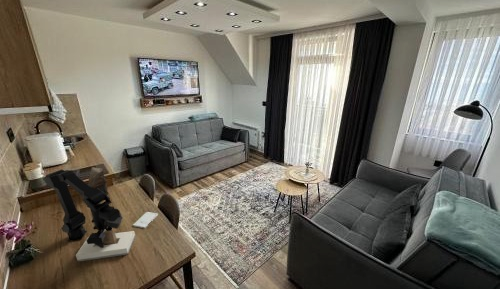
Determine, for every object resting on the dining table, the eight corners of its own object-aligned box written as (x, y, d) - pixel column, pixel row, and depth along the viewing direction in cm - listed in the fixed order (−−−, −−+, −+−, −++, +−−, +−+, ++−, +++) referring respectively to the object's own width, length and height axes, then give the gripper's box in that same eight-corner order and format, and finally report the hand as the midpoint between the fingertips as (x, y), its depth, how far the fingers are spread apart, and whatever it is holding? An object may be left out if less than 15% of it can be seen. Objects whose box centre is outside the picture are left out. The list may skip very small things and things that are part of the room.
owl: (95, 190, 157) (88, 166, 150) (113, 188, 160) (108, 165, 154) (87, 199, 146) (80, 174, 139) (107, 197, 149) (101, 172, 142)
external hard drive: (157, 215, 133) (145, 229, 121) (146, 213, 134) (132, 226, 123) (157, 213, 132) (144, 226, 121) (146, 211, 134) (132, 224, 122)
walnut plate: (98, 249, 105) (94, 235, 102) (100, 245, 107) (96, 232, 104) (115, 247, 106) (112, 233, 103) (117, 243, 109) (114, 230, 106)
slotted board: (77, 261, 99) (75, 255, 98) (90, 242, 110) (88, 236, 109) (127, 254, 104) (126, 248, 102) (135, 236, 115) (134, 230, 113)
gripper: (110, 226, 93) (116, 252, 98) (124, 202, 110) (129, 225, 116) (82, 229, 91) (90, 256, 96) (101, 204, 108) (107, 228, 113)
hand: (106, 240), depth 105 cm, fingers open, 9 cm apart
